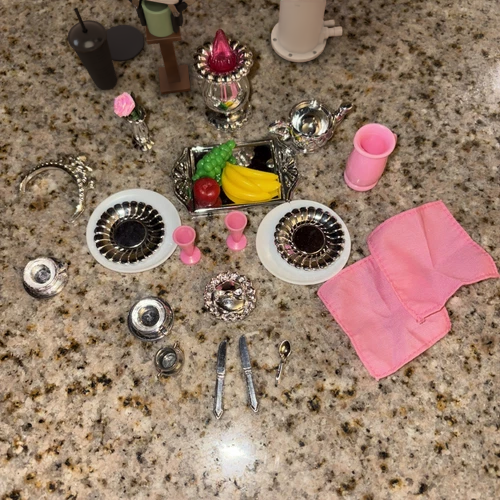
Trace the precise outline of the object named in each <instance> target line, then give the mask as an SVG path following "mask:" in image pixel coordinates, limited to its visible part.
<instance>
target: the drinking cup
mask: <svg viewBox="0 0 500 500" xmlns="http://www.w3.org/2000/svg"><path fill="white" fill-rule="evenodd" d="M73 11H74V13H75V16H76V18H77V20H78V22H77V23H75V24H74V25H72V26H71V28H70V29H69V31H68V33H67V42H68V45H69V46H70V47H71V49H72V50H74V52H75V54H76V55H77V57H78V58H79V60H80V61H81V63H82V65H83V67H84V68H85V70H86V71H87V73H88V75H89V76H90V78H91V79H92V81H93V82H94V85H95V86H96V87H97V88H98V89H99V90H101V91H109V90H112V89H113V88H114V87H115V86H116V85H117V83H118V77H117V73H116V69H115V65H114V60H112V57H111V53H110V49H109V45H108V41H107V32H106V31H107V29H106V27H105V26H104V24H102V23H101V22H99V21H96V20H94V19H93V20H92V19H87V20H83V18H82V16H81V13H80V11H79V8H78V7H74V9H73Z"/></svg>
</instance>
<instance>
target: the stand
mask: <svg viewBox="0 0 500 500" xmlns="http://www.w3.org/2000/svg"><path fill="white" fill-rule="evenodd" d="M144 28H145V39H146V45H148V46H149V45H156V44H158V46H159V50H160V53H161V58H162V62H163V65H164V66H160V67H158V70H157V71H158V79H159V81H158V82H159V90H160V95H169V94H178V93H186V92H187V93H188V92H191V91H192V90H191V89H192V88H191V81H190V73H189V65H188V63H186V64H179V63H178V58H177V54H176V53H177V52H176V49H175V43H176V42H180V41H182V32H181V26H180V27H179V30H178V32H177V33H175V32H173V33H172V34H171V35H169V36H166V37H157V36H154V35H153V34H151V33H150V32H149V30H148V27H147V24H146V26H144ZM174 42H175V43H174Z"/></svg>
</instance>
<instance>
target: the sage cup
mask: <svg viewBox="0 0 500 500" xmlns="http://www.w3.org/2000/svg"><path fill="white" fill-rule="evenodd" d="M142 8H143V12H144V16H145V19H146V23H147V27H148V30H149V32H150V33H151V34H153V35H154V36H157V37H166V36H169V35H171V34H172V33H173V32H174V31H173V27H172V22H171V14H172V12H171V10H170V8H169V7H168V5H167V4H165V3H159V2H154V1H149V0H142Z"/></svg>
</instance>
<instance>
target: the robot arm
mask: <svg viewBox="0 0 500 500" xmlns="http://www.w3.org/2000/svg"><path fill="white" fill-rule="evenodd" d="M128 1H129V3H131V7H132V8H133V9H135V11H136V14H137V18H138V19H139V21H140V25H141V27H145V26H146V24H147V23H146V19H145V16H144V12H143V8H142V0H128ZM149 1H154V2H159V3H165V4H167V5H168V7H169V8H170V10H171V12H172V14H171V22H172V27H173V31H174V32H175V33H177V32H178V30H179V27H180V28H181V27H183V25H184V16H183V12H184V11H185V10H187V9H188V7H191V6H192V5H194V4H195V3H196V0H149ZM326 6H327V0H280V1H279V13H278V22H277V23H276V24H275V25H274V26H273V28H272V30H271V34H270V43H271V47H272V49H273V50H274V52H275V53H276V54H277V55H278V56H279V57H280V58H282V59H284V60H286V61H289V62H292V63H305V62H310V61H312V60H315V59H316V58H318V57H319V56H321V54H322V53H323V51H325V48H326V44H327V40H328V39H329V37H341V36H342V35H343V27H342V26H335V23H336V22H335V19H327V20H324V17H325V12H326V11H325V10H326Z"/></svg>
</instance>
